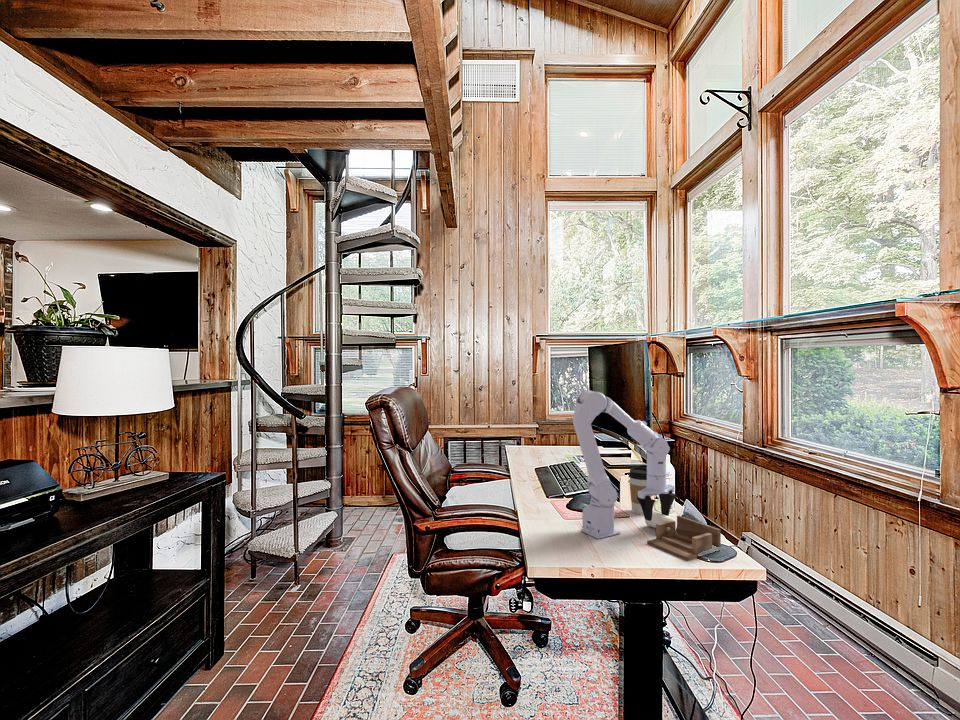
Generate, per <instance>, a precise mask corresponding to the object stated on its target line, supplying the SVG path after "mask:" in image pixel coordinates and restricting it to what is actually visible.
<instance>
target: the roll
mask: <svg viewBox="0 0 960 720" xmlns="http://www.w3.org/2000/svg"><path fill="white" fill-rule="evenodd" d="M671 520H673V521H675V531H677V519H675V518H674V517H672V516H666V515H663V514H662V513H660V512H657V511H654V510H652V520H651V521H648V520H646V519H645V518H644V521H645V524H646V526H648V527H650V528H653V529H655V530H656V524H658V523H662V522H666V521H671Z"/></svg>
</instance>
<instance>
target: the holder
mask: <svg viewBox="0 0 960 720" xmlns="http://www.w3.org/2000/svg"><path fill="white" fill-rule="evenodd" d="M676 522H677V527H676V530H675V521H673V520H671V521H666V522H662V523H658V524H656V529H655V538H653V539H650V540H649V539H648V540H647V541H646V542H647V545H650V546H653V547H655V548H657V549H659V550H662V551H664V552H666V553H669V554H671V555H674V556H675V557H677V558H678V557H679V558H680V559H682V560H685V561H692V560H695V559H696V560H697V559H698V558H697V556H698V554H699V553H701V552H703V551H706V550H709V549H712V545H714V546H716V547H722V545H721V542H722V541H721V538H722V537H721V534H722V532H721V528H717V527H716V526H712V525H708V524H706V523H703V522H700V521H698V520H693V519H691V518H688V517H684V516H682V515H677V516H676Z"/></svg>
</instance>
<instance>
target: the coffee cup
mask: <svg viewBox="0 0 960 720" xmlns="http://www.w3.org/2000/svg"><path fill="white" fill-rule="evenodd" d="M628 477H629V490H630V491H629V492H630V503H631V511H632V513H633V514H636V515H643V516H644V514H643V510H642V507H641V505H640V503H639V501H638V500H637V496H638V491H640V490H642V489H644V488H646V487H647V467H644V466H643V467H641V466H633V467H631V468H630V469H629V473H628ZM650 498H651V499H652V496H650Z"/></svg>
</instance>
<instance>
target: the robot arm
mask: <svg viewBox="0 0 960 720" xmlns="http://www.w3.org/2000/svg"><path fill="white" fill-rule="evenodd" d="M601 413H606V414H608V415H610V416H611V417H612V418H614V419H615V420H616V421H618V423H620V424H621V425H623V426H624V427H625V428H626V429H627V430H626V432H627V434H628V436H630V437H631V438H632V439H633V440H635V442H638V444H640V445H641V447H642V448H643V449H644V451H645V452H646V468H647V487H646V488H644V489H642V490H640V491H638V496H637V500H638V501H639V503H640V505H641V507H642V510H643V514H644V515H643V517H644V520H645V519H646V520H648V521H651V520H652V511H654V509H653V508H654V504H655V503H656V500H655V499H653V498H652V497H653V496H657V495H658V497H659V503H660V511H661V513H660V514H663V515H666V516H669V515H670V512H671V508H672V505H673V503H674V501H675V500H676V498H677V494H676V493H675V485H672V484H667V455H668V454H669V452H670V450H671V447H670V446H669V444H668V441H667V440H666V439H665V438H663V437H660V436H659V433H658V432H657V431H653V430H652V429H651V428H650V427H649V426H647V425H648V423H647V422H646V421H645V420H642V421H641V420H640V419H637V420H634V419H633V418H632V417H631V416H630V415H629V414H628V413H626V411H624V410H623V409H622V408H621V406H619V405H618V404H617V403H616V402H615V401H613V400H612V399H611V398H610V397H608V396H606V395H605V394H604V393H602V392H600V391H593V390H591V389H589V390H588V389H586V390H584V391H581V392H580V393H579V395H578V397H576V399H575V407H574V412H573V416H572V424H573V427H574V430H575V435H576V437H577V442H578V444H579V447H580V450H581V454H582V457H583V459H584V464H585V467H586V470H587V473H588V476H587V481H588V487H587V490H588V494H589V495H590V496H591V498H590V503H589V504H588V505H586V506H584V508H583V509H582V518H581V519H582V523H581V524H582V527H581V528H580V531H581V532H582V533H585V534H587V535H589V536H591V537H593V538H595V539H597V540H598V539H603V538H607V537H612V536H616V535H620V534H621V531H620V530H618V529H615V504H616V502H617V500H618V492H617V489H616V488H615V487H614V486H613V484H612V482H611V479H610V478H609V476H608V475H607V473H606V470H605V467H604V463H603V460H602V457H601V454H600V450H599V447H598V443H597V440H596V438H595V434H594V430H593V428H592V423H593V422H594V420H595V419H596V417H597V416H599V415H600V414H601ZM650 496H651V498H650ZM669 517H670V516H669Z"/></svg>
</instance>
